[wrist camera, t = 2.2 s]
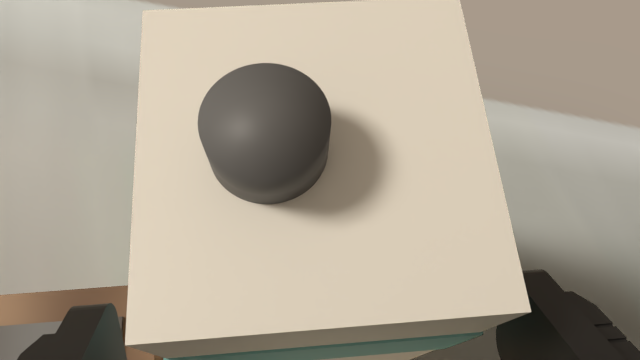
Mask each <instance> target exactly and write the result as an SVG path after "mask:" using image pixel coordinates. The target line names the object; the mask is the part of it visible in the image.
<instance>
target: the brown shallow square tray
mask: <svg viewBox="0 0 640 360" xmlns="http://www.w3.org/2000/svg"><path fill="white" fill-rule="evenodd" d="M127 296H128V286H115V287H102V288H88V289H75V290H62V291H49V292H35V293H22V294H9V295H0V360H17V359H18V357H19V355H20V354H21V353H22V352H23V351H24V350H25V349H27V348H28V347H29V346H30V345H31V344H33V343H34V342H35V341H36V340H37V339H38V338H40V337H41V336H42V335H43V334H55V333H56V331H57V330H58V328H59V326H60V324H61V323H62V321H63V319H64V317H65V316H66V314H67V312H68V311H69V309H70V308H71V307H73V306H81V305H94V304H106V303H112V304H113V305H114V306H115V308H116V311H117V315H118V319H119V324H120V329H121V333H122V338H123V342H124V347H125V352H126V356H127V360H163V357H160V356H157V355H153V354H150V353H147V352H144V351H141V350H138V349H135V348H131V347H128V346H125V333H126V315H127Z"/></svg>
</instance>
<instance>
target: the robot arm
mask: <svg viewBox="0 0 640 360" xmlns="http://www.w3.org/2000/svg"><path fill="white" fill-rule="evenodd" d="M522 273H523V277H524V282H525V286H526V290H527V295H528V299H529V304H530V308H531V312H530V313H528V314H525V315H523V316H520V317H518V318H515V319H512V320H510V321H507V322H505V323H502V324H500V325H497V330H496V341H497V348H498V352H499V355H500V358H501V360H640V351H639V350H638V349H637V348H636V347H635V346H634V345H633V344H632V343H631V342H630V341H628V342H627V340H626V337H625V336H624V335H623V334H622V332H621V331H620V330H619V329H618V328H617V327H616V326H615V327H613V325H612V322H611V321H610V320H609V319H608V318H607V317H606V316H605V315H604V314H603V312H602V311H601V310H600V309H599V308H598V307H597V306H596V305H594V304H592V303H591V302H589V301H587V300H586V299H584V298H582V297H581V296H579V295H577V294H576V293H574V292H572V291H571V292H564V291H563V290H562V289H561V288H560V286H559V285H558V284H557V283H556V282H555V281H554V280H553V279H552V277H551V276H550V275H549V274H548V273H547V272H546V271H544V270H530V271H522ZM17 360H127V356H126V352H125V347H124V342H123V338H122V333H121V329H120V324H119V319H118V315H117V311H116V308H115V306H114V305H113V304H112V303H106V304H94V305H81V306H73V307H71V308H70V309H69V311H68V312H67V314H66V316H65V317H64V319H63V321H62V323H61V324H60V326H59V328H58V330H57V331H56V333H55V334H43V335H42V336H41V337H40V338H38V339H37V340H36V341H35V342H34V343H33V344H31V345H30V346H29V347H28V348H27V349H25V350H24V351H23V352H22V353H21V354H20V355H19V357H18V359H17Z"/></svg>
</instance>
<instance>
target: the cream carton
mask: <svg viewBox="0 0 640 360" xmlns="http://www.w3.org/2000/svg"><path fill="white" fill-rule="evenodd" d="M530 312H531V308H530V304H529V299H528V295H527V290H526V286H525V282H524V277H523V273H522V269H521V264H520V260H519V256H518V251H517V247H516V243H515V238H514V234H513V230H512V225H511V221H510V217H509V212H508V208H507V203H506V199H505V195H504V190H503V186H502V182H501V177H500V173H499V169H498V164H497V160H496V156H495V151H494V147H493V143H492V138H491V134H490V130H489V125H488V121H487V117H486V112H485V108H484V103H483V99H482V95H481V90H480V87H479V82H478V77H477V73H476V69H475V64H474V60H473V56H472V51H471V47H470V43H469V38H468V34H467V30H466V25H465V21H464V16H463V12H462V8H461V3H460V0H366V1H343V2H323V3H322V2H321V3H299V4H279V5H278V4H277V5H255V6H233V7H211V8H188V9H166V10H144V11H143V17H142V36H141V54H140V73H139V92H138V110H137V129H136V147H135V166H134V185H133V203H132V222H131V240H130V259H129V278H128V296H127V315H126V333H125V346H128V347H131V348H135V349H138V350H141V351H144V352H147V353H150V354H153V355H157V356H160V357H163V360H410V359H413V358H416V357H418V356H421V355H423V354H426V353H428V352H431V351H433V350H437V349H446V348H449V347H451V346H454V345H457V344H459V343H462V342H465V341H467V340H470V339H473V338H475V337H478V336H481V335H483V331H484V330H487V329H489V328H492V327H495V326H497V325H500V324H502V323H505V322H507V321H510V320H512V319H515V318H518V317H520V316H523V315H525V314H528V313H530Z"/></svg>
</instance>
